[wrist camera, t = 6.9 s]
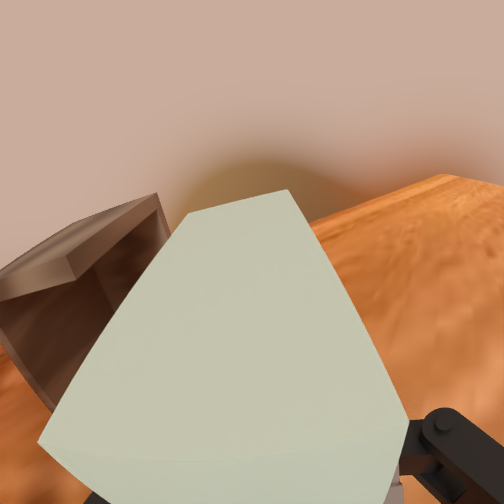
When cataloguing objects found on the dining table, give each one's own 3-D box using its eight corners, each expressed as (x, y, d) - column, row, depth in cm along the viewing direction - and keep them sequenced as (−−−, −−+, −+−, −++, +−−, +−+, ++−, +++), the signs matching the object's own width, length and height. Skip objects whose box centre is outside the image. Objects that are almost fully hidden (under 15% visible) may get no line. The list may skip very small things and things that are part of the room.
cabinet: (105, 467, 19) (-28, 290, 12) (143, 368, 32) (72, 223, 25) (279, 467, 17) (178, 219, 11) (271, 348, 30) (219, 173, 24)
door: (275, 577, 7) (37, 442, 2) (271, 442, 15) (188, 213, 10) (353, 566, 7) (408, 420, 2) (329, 431, 15) (287, 189, 10)
